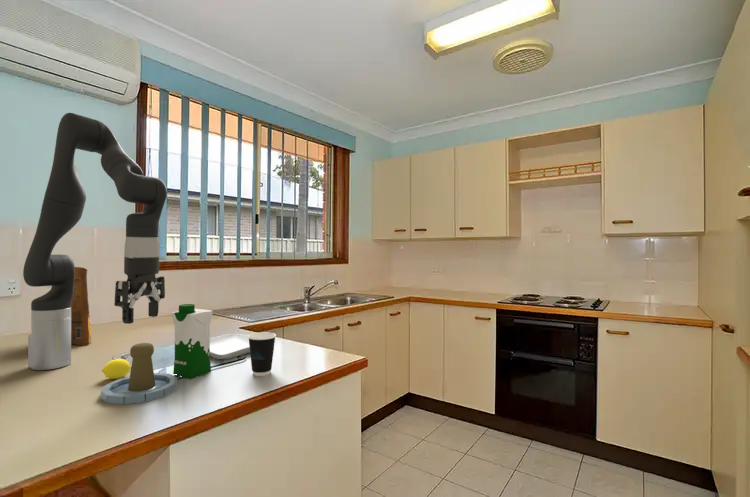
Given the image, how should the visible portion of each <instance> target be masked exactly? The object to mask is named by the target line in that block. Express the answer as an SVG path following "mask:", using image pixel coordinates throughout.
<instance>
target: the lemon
mask: <svg viewBox="0 0 750 497" xmlns="http://www.w3.org/2000/svg"><path fill="white" fill-rule="evenodd" d="M131 366H132V365H131V364H130V362H129V361H128V360H126V359H123V358H116V359H112V360H109V361H108V362H107V363H106V364H105V365H104V366H103V368H102V369H101V372H102V373H103V374H104V376H105V377H106V378H108V379H110V380H118V379H121V378H125V377H127V375H128V374H129V373H130V372H131Z"/></svg>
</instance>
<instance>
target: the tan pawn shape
mask: <svg viewBox="0 0 750 497" xmlns="http://www.w3.org/2000/svg"><path fill="white" fill-rule="evenodd" d="M154 352H155V348H154V345H153V344H152V343H150V342H140V343H136V344H134V345H133V346H131V347H130V350H129V354H130V357H131V358H132V360H131V365H130V366H131V369H130V372H129V376H130V379H129V385H128V390H129V391H133V392H137V391H145V390H149V389H151V388H153V387H155V386H156V385H155V378H154V373H155V371H154V366H153V358H152V357H153V355H154Z"/></svg>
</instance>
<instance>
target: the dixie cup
mask: <svg viewBox="0 0 750 497" xmlns="http://www.w3.org/2000/svg"><path fill="white" fill-rule="evenodd" d="M247 336H248V338H249V346H250V353H249V354H250V355H249V356H250V364H251V366H250V367H251V371H252V375H254V376H257V377H264V376H268V375H269V374H271V370H272V367H273V357H274V351H275V350H274V349H275V344H276V343H275V342H276V337H277V334H276V333H274V332H267V331H266V332H264V331H263V332H254V333H250V334H248V335H247Z"/></svg>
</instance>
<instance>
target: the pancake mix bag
mask: <svg viewBox="0 0 750 497" xmlns="http://www.w3.org/2000/svg"><path fill="white" fill-rule="evenodd" d="M74 267H75V277H74V293H73V299H72V302H71V344H73V345H76V346H87V345H90V344H91V343H92V339H93V338H92V328H91V317H90V304H89V298H88V297H89V295H88V293H89V292H88V276H87V275H88V269H87V268H85V267H81V266H74Z"/></svg>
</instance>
